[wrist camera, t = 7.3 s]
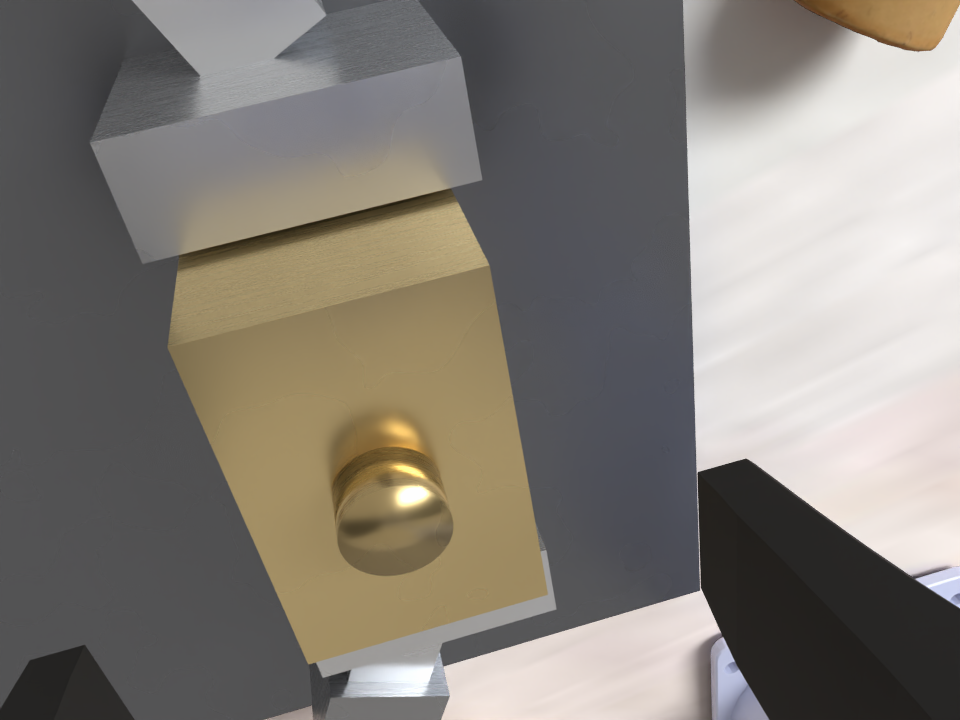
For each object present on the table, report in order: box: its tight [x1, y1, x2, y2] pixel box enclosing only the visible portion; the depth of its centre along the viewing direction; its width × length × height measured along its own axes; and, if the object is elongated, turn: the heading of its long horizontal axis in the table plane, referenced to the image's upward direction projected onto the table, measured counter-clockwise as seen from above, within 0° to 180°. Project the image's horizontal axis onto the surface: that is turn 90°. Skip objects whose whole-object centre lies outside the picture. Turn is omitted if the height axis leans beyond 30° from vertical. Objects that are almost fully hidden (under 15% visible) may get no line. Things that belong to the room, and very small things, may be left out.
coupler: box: [167, 188, 548, 665], centre depth 13 cm, size 6×4×6 cm, turn 10°
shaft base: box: [0, 0, 700, 720], centre depth 15 cm, size 21×17×4 cm
